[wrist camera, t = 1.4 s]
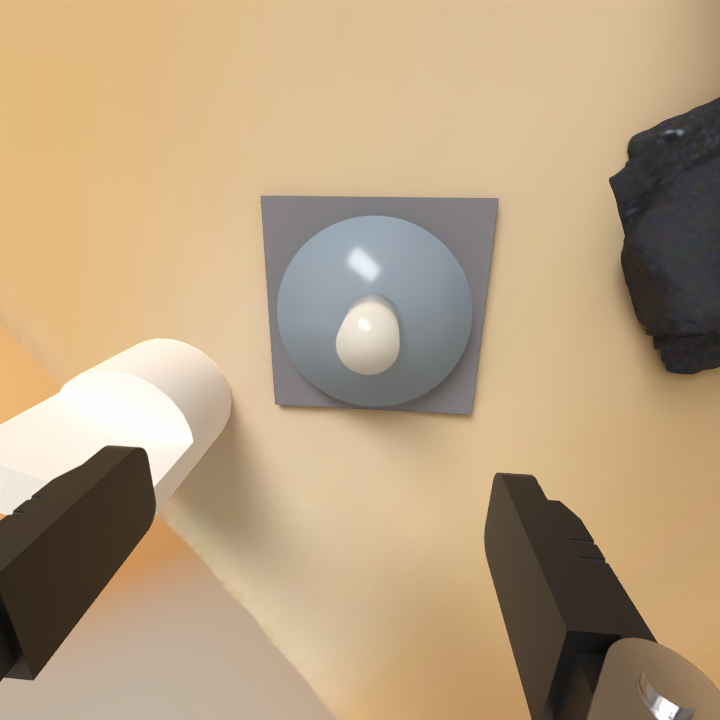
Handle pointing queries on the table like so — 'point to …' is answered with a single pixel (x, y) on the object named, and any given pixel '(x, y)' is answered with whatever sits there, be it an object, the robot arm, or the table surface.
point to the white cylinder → (120, 420)
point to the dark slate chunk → (675, 236)
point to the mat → (436, 215)
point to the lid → (374, 310)
